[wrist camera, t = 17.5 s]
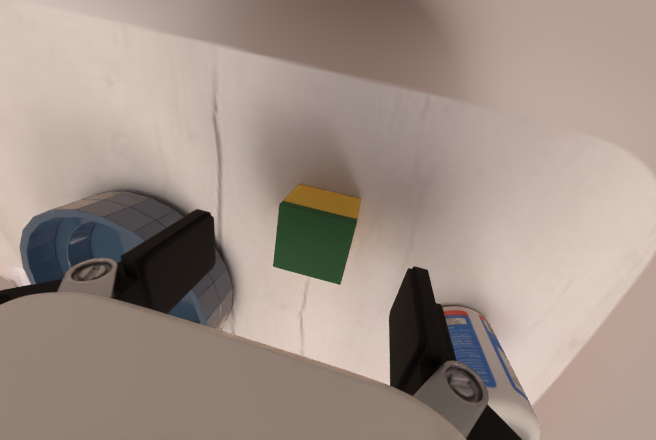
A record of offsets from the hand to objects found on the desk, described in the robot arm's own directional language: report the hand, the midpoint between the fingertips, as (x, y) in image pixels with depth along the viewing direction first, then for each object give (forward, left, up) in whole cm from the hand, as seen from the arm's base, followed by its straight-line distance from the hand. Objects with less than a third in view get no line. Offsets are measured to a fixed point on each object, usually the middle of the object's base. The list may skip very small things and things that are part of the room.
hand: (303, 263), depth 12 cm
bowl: (+11, -15, -7) cm, 20 cm away
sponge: (+1, 0, -7) cm, 7 cm away
